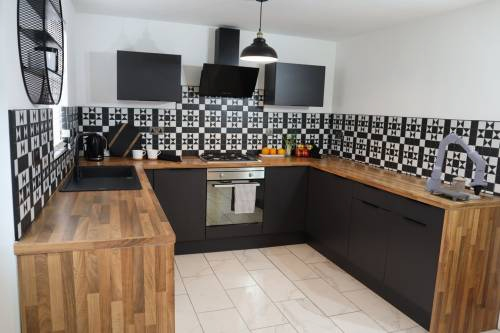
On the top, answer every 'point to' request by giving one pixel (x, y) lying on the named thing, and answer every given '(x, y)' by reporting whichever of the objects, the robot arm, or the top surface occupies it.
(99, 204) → the top surface
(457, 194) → the shelf
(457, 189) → the teacup with lid
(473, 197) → the tray
